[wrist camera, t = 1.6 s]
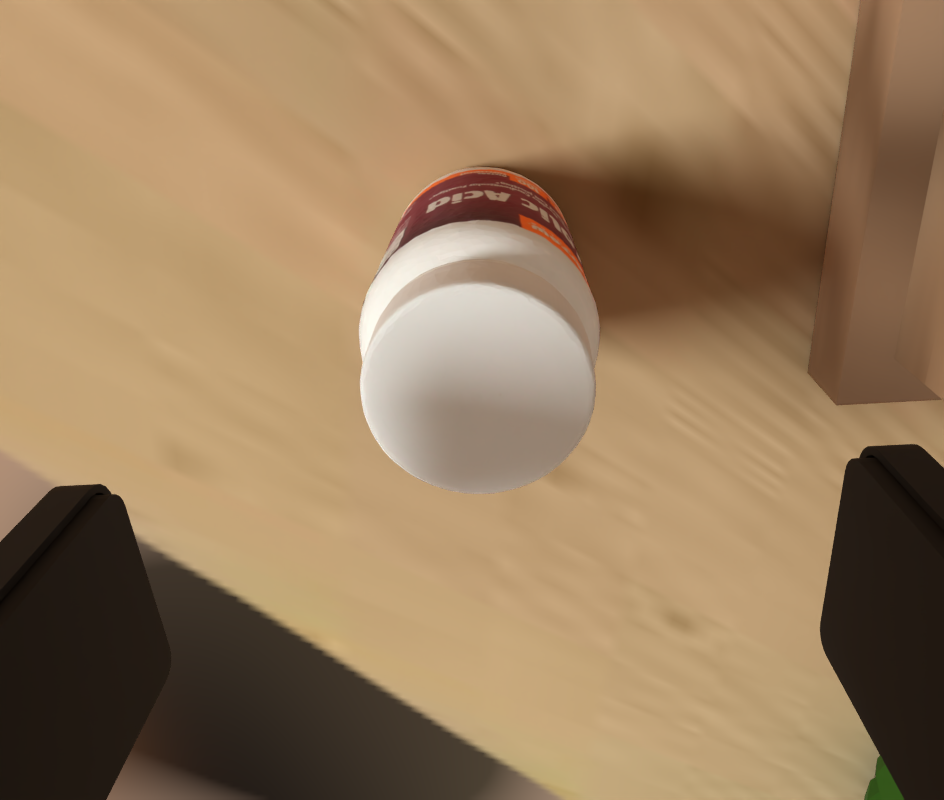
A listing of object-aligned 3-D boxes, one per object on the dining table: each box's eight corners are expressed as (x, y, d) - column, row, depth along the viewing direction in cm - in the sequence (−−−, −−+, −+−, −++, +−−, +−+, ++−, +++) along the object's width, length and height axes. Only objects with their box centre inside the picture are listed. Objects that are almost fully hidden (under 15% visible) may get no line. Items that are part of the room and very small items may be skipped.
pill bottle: (597, 193, 19) (666, 307, 12) (537, 357, 22) (565, 541, 14) (417, 137, 19) (372, 221, 11) (374, 311, 21) (311, 477, 14)
